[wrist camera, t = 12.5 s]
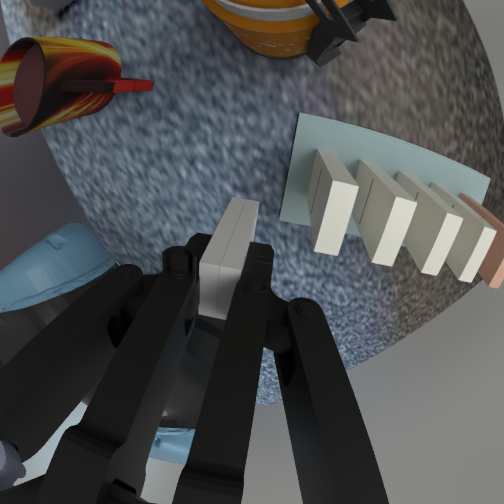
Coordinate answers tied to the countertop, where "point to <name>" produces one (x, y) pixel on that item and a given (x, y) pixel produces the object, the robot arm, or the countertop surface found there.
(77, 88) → the mug
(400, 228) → the domino
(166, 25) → the countertop surface
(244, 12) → the canister
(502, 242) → the end domino
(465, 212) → the domino
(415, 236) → the domino
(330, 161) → the domino
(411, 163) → the mat
